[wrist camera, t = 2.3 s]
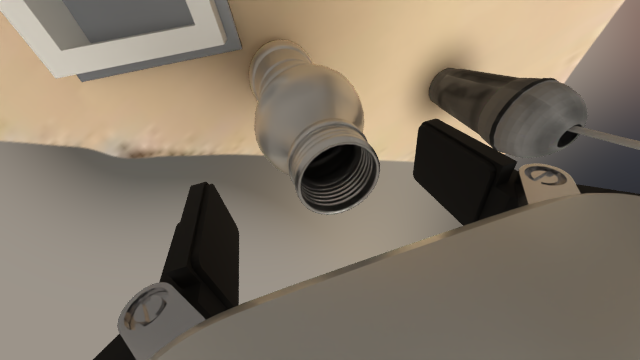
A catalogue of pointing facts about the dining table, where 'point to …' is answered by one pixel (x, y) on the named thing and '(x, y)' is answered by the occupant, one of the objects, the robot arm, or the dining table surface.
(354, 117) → the plastic bottle
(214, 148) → the dining table surface
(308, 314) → the robot arm
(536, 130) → the beverage cup
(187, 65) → the dining table surface
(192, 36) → the socket
